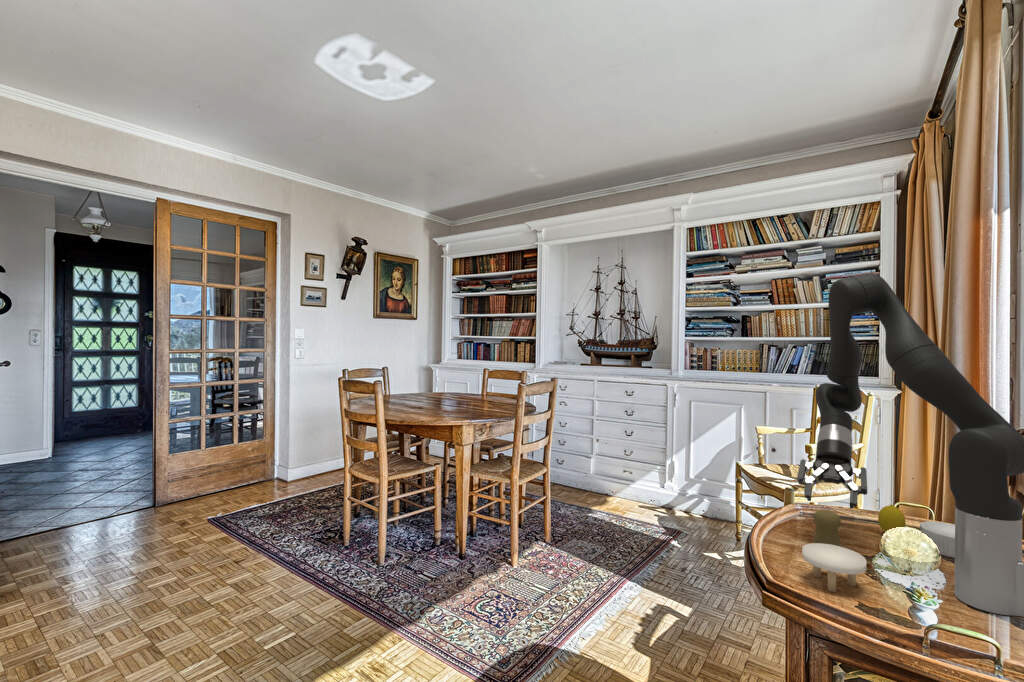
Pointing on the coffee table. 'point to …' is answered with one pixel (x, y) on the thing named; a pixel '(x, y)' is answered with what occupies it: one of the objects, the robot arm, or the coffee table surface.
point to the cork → (827, 527)
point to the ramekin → (941, 536)
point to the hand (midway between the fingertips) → (829, 503)
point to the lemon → (891, 518)
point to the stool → (834, 562)
